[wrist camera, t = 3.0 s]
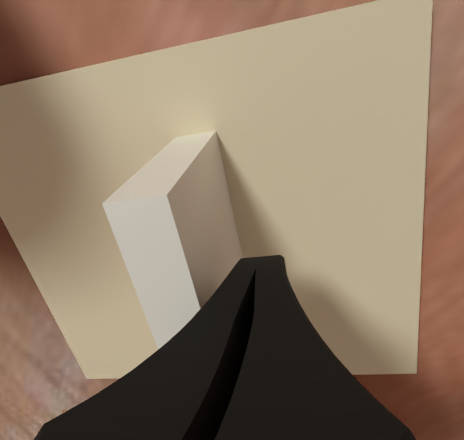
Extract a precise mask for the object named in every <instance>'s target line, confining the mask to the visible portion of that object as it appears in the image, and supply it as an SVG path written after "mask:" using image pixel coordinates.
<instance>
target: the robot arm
mask: <svg viewBox="0 0 464 440" xmlns="http://www.w3.org/2000/svg"><path fill="white" fill-rule="evenodd" d="M34 440H416V439H415V437H414V436H413V434H412V432H411V431H410V429H409V428H408V427H406V426H405V425H404V424H403V423H402V422H401V421H400V420H398V419H397V418H396V417H395V416H394V415H393V414H392V413H391V412H389V411H388V410H387V409H386V408H385V407H384V406H383V405H382V404H381V403H380V402H379V401H378V400H377V399H376V398H374V397H373V396H372V395H371V394H370V393H369V391H368V390H367V389H366V388H365V387H364V386H363V385H362V384H361V383H360V382H359V381H358V380H357V379H356V378H355V377H354V376H353V375H352V374H351V373H350V371H349V370H348V369H347V368H346V367H345V366H344V365H343V364H342V362H341V361H340V360H339V359H338V358H337V357H336V356H335V355H334V353H333V352H332V351H331V349H330V348H329V347H328V346H327V344H326V343H325V342H324V340H323V339H322V338H321V336H320V335H319V333H318V332H317V331H316V329H315V328H314V326H313V325H312V323H311V322H310V320H309V318H308V317H307V315H306V314H305V312H304V310H303V308H302V307H301V305H300V303H299V301H298V299H297V297H296V295H295V293H294V291H293V289H292V287H291V284H290V282H289V279H288V276H287V272H286V265H285V259H284V257H283V256H281V255H272V256H260V257H249V258H241V259H240V260H239V261H238V262H237V263H236V265H235V266H234V267H233V269H232V270H231V271H230V273H229V274H228V275H227V277H226V278H225V279H224V281H223V282H222V283H221V285H220V286H219V287H218V289H217V290H216V291H215V292H214V294H213V295H212V296H211V297H210V299H209V300H208V301H207V302H206V303H205V304H204V306H203V307H202V308H201V309H200V310H199V311H198V312H197V313H196V314H195V316H194V317H193V318H192V319H191V320H190V321H189V322H188V323H187V324H186V325H185V326H184V327H183V328H182V329H181V330H180V331H179V332H178V333H177V334H176V335H174V336H173V337H172V338H171V339H170V340H169V341H168V342H167V343H166V344H164V345H163V346H162V347H161V348H160V349H158V350H157V351H156V352H155V353H153V354H152V355H151V356H150V357H148V358H147V359H146V360H144V361H143V362H142V363H141V364H139V365H138V366H137V367H136V368H134V369H133V370H131V371H130V372H129V373H127V374H126V375H124V376H123V377H121V378H120V379H119V380H117V381H116V382H114V383H113V384H111V385H110V386H108V387H106V388H105V389H103V390H102V391H100V392H99V393H97V394H96V395H94V396H92V397H91V398H89V399H87V400H86V401H84V402H82V403H80V404H79V405H77V406H75V407H73V408H72V409H70V410H68V411H66V412H65V413H63V414H61V415H59V416H58V417H56V418H54V419H52V420H50V421H49V422H47V423H45V424H44V425H43V426H42V428H41V429H40V431H39V432H38V434H37V436H36V437H35V439H34Z"/></svg>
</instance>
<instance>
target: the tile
mask: <svg viewBox="0 0 464 440" xmlns="http://www.w3.org/2000/svg"><path fill="white" fill-rule="evenodd" d="M102 205H103V208H104V210H105V213H106V215H107V218H108V221H109V223H110V226H111V228H112V231H113V234H114V236H115V239H116V241H117V244H118V247H119V249H120V252H121V254H122V257H123V259H124V262H125V265H126V267H127V270H128V272H129V275H130V278H131V280H132V283H133V285H134V288H135V291H136V293H137V296H138V298H139V301H140V304H141V306H142V309H143V311H144V314H145V316H146V319H147V322H148V324H149V327H150V329H151V332H152V335H153V337H154V340H155V342H156V345H157V348H158V349H160V348H161V347H162V346H163V345H164V344H166V343H167V342H168V341H169V340H170V339H171V338H172V337H173V336H174V335H176V334H177V333H178V332H179V331H180V330H181V329H182V328H183V327H184V326H185V325H186V324H187V323H188V322H189V321H190V320H191V319H192V318H193V317H194V316H195V314H196V313H197V312H198V311H199V310H200V309H201V308H202V307H203V306H204V304H205V303H206V302H207V301H208V300H209V299H210V297H211V296H212V295H213V294H214V292H215V291H216V290H217V289H218V287H219V286H220V285H221V283H222V282H223V281H224V279H225V278H226V277H227V275H228V274H229V273H230V271H231V270H232V269H233V267H234V266H235V265H236V263H237V262H238V261H239V260H240V259H241V258H243V255H242V250H241V246H240V241H239V236H238V232H237V227H236V222H235V218H234V213H233V208H232V203H231V199H230V194H229V189H228V185H227V180H226V175H225V171H224V166H223V161H222V157H221V152H220V147H219V143H218V138H217V133H216V131H212V132H206V133H200V134H194V135H188V136H182V137H176V138H174V139H173V140H172V141H171V142H170V143H169V144H168V145H167V146H166V147H164V148H163V149H162V150H161V151H160V152H159V153H158V154H157V155H156V156H154V157H153V158H152V159H151V160H150V161H149V162H148V163H147V164H145V165H144V166H143V167H142V168H141V169H140V170H139V171H138V172H137V173H135V174H134V175H133V176H132V177H131V178H130V179H129V180H128V181H127V182H125V183H124V184H123V185H122V186H121V187H120V188H119V189H118V190H117V191H115V192H114V193H113V194H112V195H111V196H110V197H109V198H108V199H107V200H105V201H104V202H103V203H102Z"/></svg>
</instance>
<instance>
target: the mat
mask: <svg viewBox="0 0 464 440" xmlns="http://www.w3.org/2000/svg"><path fill="white" fill-rule="evenodd" d="M432 3H433V0H378V1H374V2H369V3H365V4H360V5H356V6H352V7H347V8H343V9H338V10H334V11H330V12H325V13H321V14H316V15H312V16H307V17H303V18H299V19H294V20H290V21H285V22H281V23H277V24H272V25H268V26H263V27H259V28H254V29H250V30H246V31H241V32H237V33H232V34H228V35H224V36H219V37H215V38H210V39H206V40H201V41H197V42H193V43H188V44H184V45H179V46H175V47H171V48H166V49H162V50H157V51H153V52H148V53H144V54H140V55H135V56H131V57H126V58H122V59H118V60H113V61H109V62H104V63H100V64H95V65H91V66H87V67H82V68H78V69H73V70H69V71H64V72H60V73H56V74H51V75H47V76H42V77H38V78H34V79H29V80H25V81H20V82H16V83H11V84H7V85H3V86H0V217H1V219H2V220H3V222H4V224H5V226H6V228H7V230H8V232H9V234H10V235H11V237H12V239H13V241H14V243H15V245H16V247H17V249H18V251H19V252H20V254H21V256H22V258H23V260H24V262H25V264H26V266H27V268H28V269H29V271H30V273H31V275H32V277H33V279H34V281H35V283H36V284H37V286H38V288H39V290H40V292H41V294H42V296H43V298H44V300H45V301H46V303H47V305H48V307H49V309H50V311H51V313H52V315H53V316H54V318H55V320H56V322H57V324H58V326H59V328H60V330H61V332H62V333H63V335H64V337H65V339H66V341H67V343H68V345H69V347H70V349H71V350H72V352H73V354H74V356H75V358H76V360H77V362H78V364H79V365H80V367H81V369H82V371H83V373H84V375H85V377H86V379H103V378H121V377H123V376H124V375H126V374H127V373H129V372H130V371H131V370H133V369H134V368H136V367H137V366H138V365H139V364H141V363H142V362H143V361H144V360H146V359H147V358H148V357H150V356H151V355H152V354H153V353H155V352H156V351H157V350H158V348H157V345H156V342H155V340H154V337H153V335H152V332H151V329H150V327H149V324H148V322H147V319H146V316H145V314H144V311H143V309H142V306H141V304H140V301H139V298H138V296H137V293H136V291H135V288H134V285H133V283H132V280H131V278H130V275H129V272H128V270H127V267H126V265H125V262H124V259H123V257H122V254H121V252H120V249H119V247H118V244H117V241H116V239H115V236H114V234H113V231H112V228H111V226H110V223H109V221H108V218H107V215H106V213H105V210H104V208H103V205H102V203H103V202H104V201H105V200H107V199H108V198H109V197H110V196H111V195H112V194H113V193H114V192H115V191H117V190H118V189H119V188H120V187H121V186H122V185H123V184H124V183H125V182H127V181H128V180H129V179H130V178H131V177H132V176H133V175H134V174H135V173H137V172H138V171H139V170H140V169H141V168H142V167H143V166H144V165H145V164H147V163H148V162H149V161H150V160H151V159H152V158H153V157H154V156H156V155H157V154H158V153H159V152H160V151H161V150H162V149H163V148H164V147H166V146H167V145H168V144H169V143H170V142H171V141H172V140H173V139H174V138H176V137H182V136H188V135H194V134H200V133H206V132H212V131H216V133H217V138H218V143H219V147H220V152H221V157H222V161H223V166H224V171H225V175H226V180H227V185H228V189H229V194H230V199H231V203H232V208H233V213H234V218H235V222H236V227H237V232H238V236H239V241H240V246H241V250H242V255H243V258H249V257H260V256H272V255H281V256H283V257H284V259H285V265H286V272H287V276H288V279H289V282H290V284H291V287H292V289H293V291H294V293H295V295H296V297H297V299H298V301H299V303H300V305H301V307H302V308H303V310H304V312H305V314H306V315H307V317H308V318H309V320H310V322H311V323H312V325H313V326H314V328H315V329H316V331H317V332H318V333H319V335H320V336H321V338H322V339H323V340H324V342H325V343H326V344H327V346H328V347H329V348H330V349H331V351H332V352H333V353H334V355H335V356H336V357H337V358H338V359H339V360H340V361H341V362H342V364H343V365H344V366H345V367H346V368H347V369H348V370H349V371H350V373H351V374H352V375H365V374H417V351H418V328H419V305H420V282H421V259H422V235H423V212H424V189H425V166H426V143H427V119H428V96H429V73H430V50H431V27H432Z"/></svg>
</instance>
